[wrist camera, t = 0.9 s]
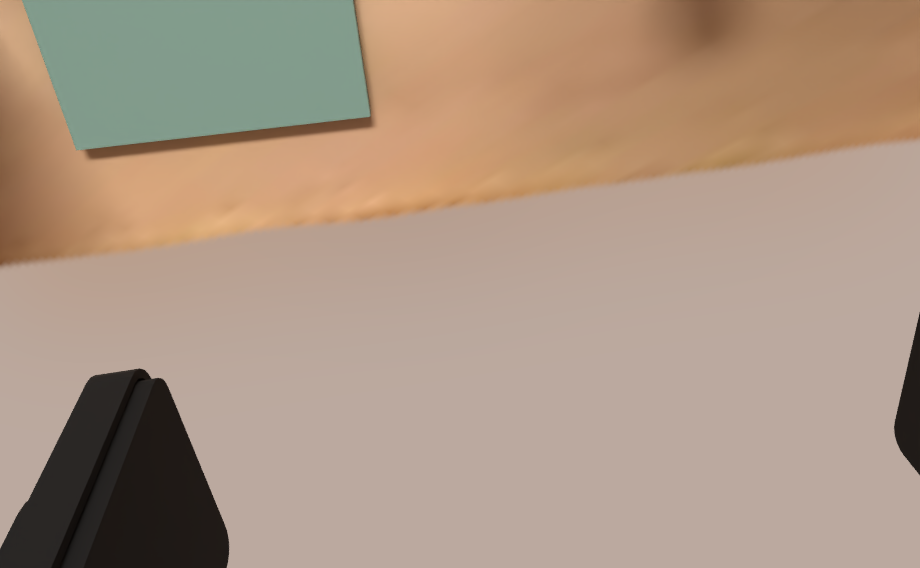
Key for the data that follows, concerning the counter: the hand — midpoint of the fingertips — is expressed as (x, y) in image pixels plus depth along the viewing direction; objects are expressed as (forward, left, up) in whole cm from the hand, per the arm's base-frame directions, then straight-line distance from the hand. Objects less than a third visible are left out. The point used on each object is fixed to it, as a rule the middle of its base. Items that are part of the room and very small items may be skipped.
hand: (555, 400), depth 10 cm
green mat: (-1, -10, -30) cm, 32 cm away
